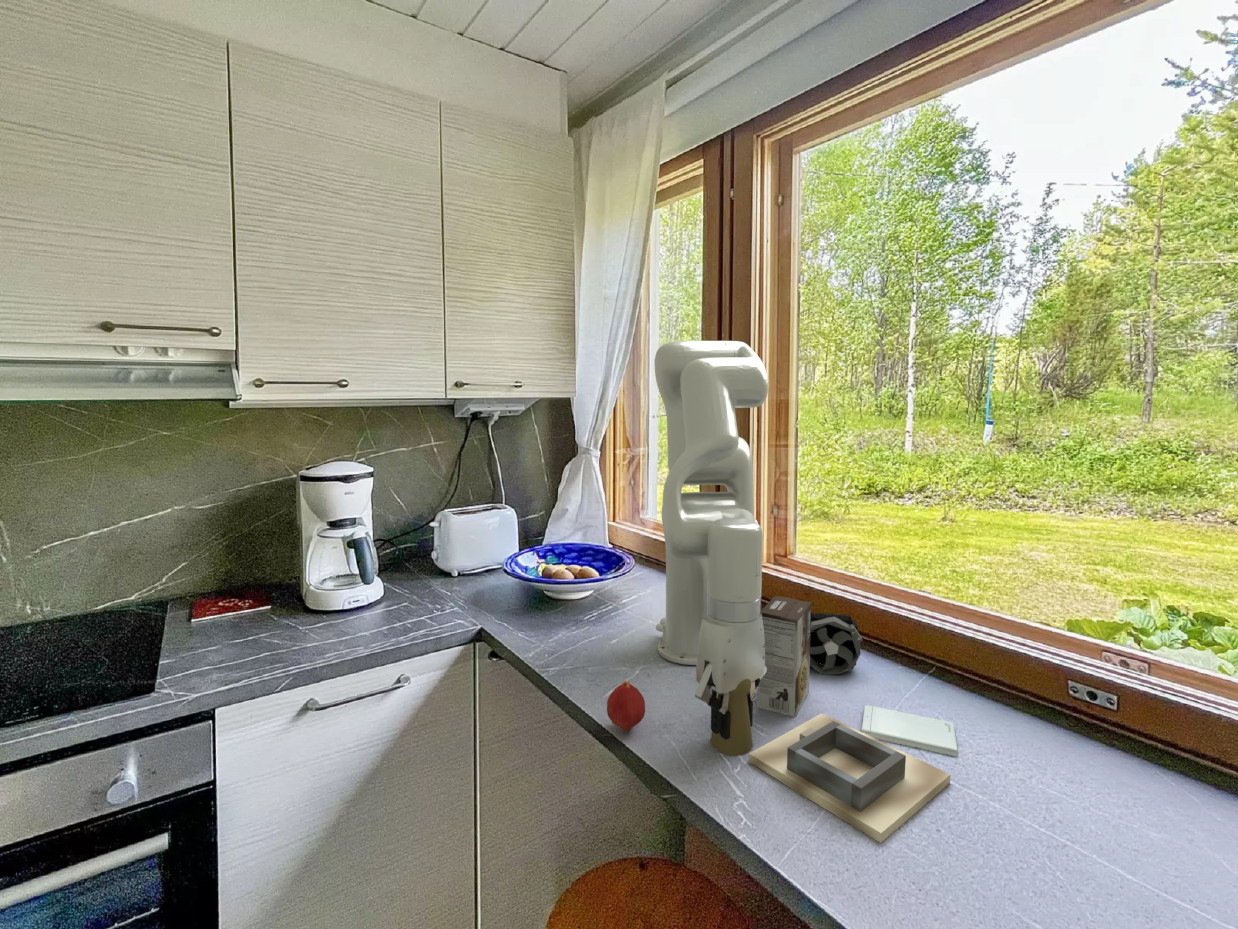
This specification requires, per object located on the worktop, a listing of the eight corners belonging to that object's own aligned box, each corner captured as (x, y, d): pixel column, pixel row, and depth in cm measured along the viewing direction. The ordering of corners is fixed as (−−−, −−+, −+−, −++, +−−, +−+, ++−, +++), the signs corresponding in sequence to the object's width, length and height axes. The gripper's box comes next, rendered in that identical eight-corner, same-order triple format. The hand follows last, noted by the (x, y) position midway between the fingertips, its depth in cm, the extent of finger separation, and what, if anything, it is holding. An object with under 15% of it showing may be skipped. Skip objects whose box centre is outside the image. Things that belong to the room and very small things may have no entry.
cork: (753, 734, 88) (755, 663, 87) (751, 758, 83) (753, 683, 81) (713, 728, 90) (714, 659, 89) (708, 751, 84) (709, 677, 83)
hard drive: (953, 721, 90) (864, 702, 95) (957, 749, 83) (861, 728, 88) (952, 731, 90) (864, 712, 96) (957, 761, 83) (860, 738, 88)
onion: (601, 724, 92) (601, 674, 91) (636, 716, 94) (636, 668, 93) (614, 744, 86) (614, 692, 85) (651, 736, 88) (651, 685, 87)
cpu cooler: (800, 672, 108) (802, 619, 107) (798, 659, 114) (800, 608, 112) (861, 679, 106) (863, 624, 105) (856, 665, 111) (858, 612, 110)
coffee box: (772, 684, 104) (774, 594, 102) (809, 693, 101) (813, 601, 99) (755, 707, 96) (757, 611, 94) (795, 718, 93) (799, 618, 91)
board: (748, 761, 82) (749, 732, 81) (821, 720, 92) (822, 694, 92) (880, 843, 67) (882, 808, 66) (949, 783, 77) (951, 752, 77)
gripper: (751, 588, 92) (749, 700, 94) (671, 612, 82) (671, 737, 84) (792, 601, 86) (789, 721, 88) (711, 629, 76) (709, 763, 78)
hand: (731, 727), depth 86 cm, fingers closed on cork, 4 cm apart
